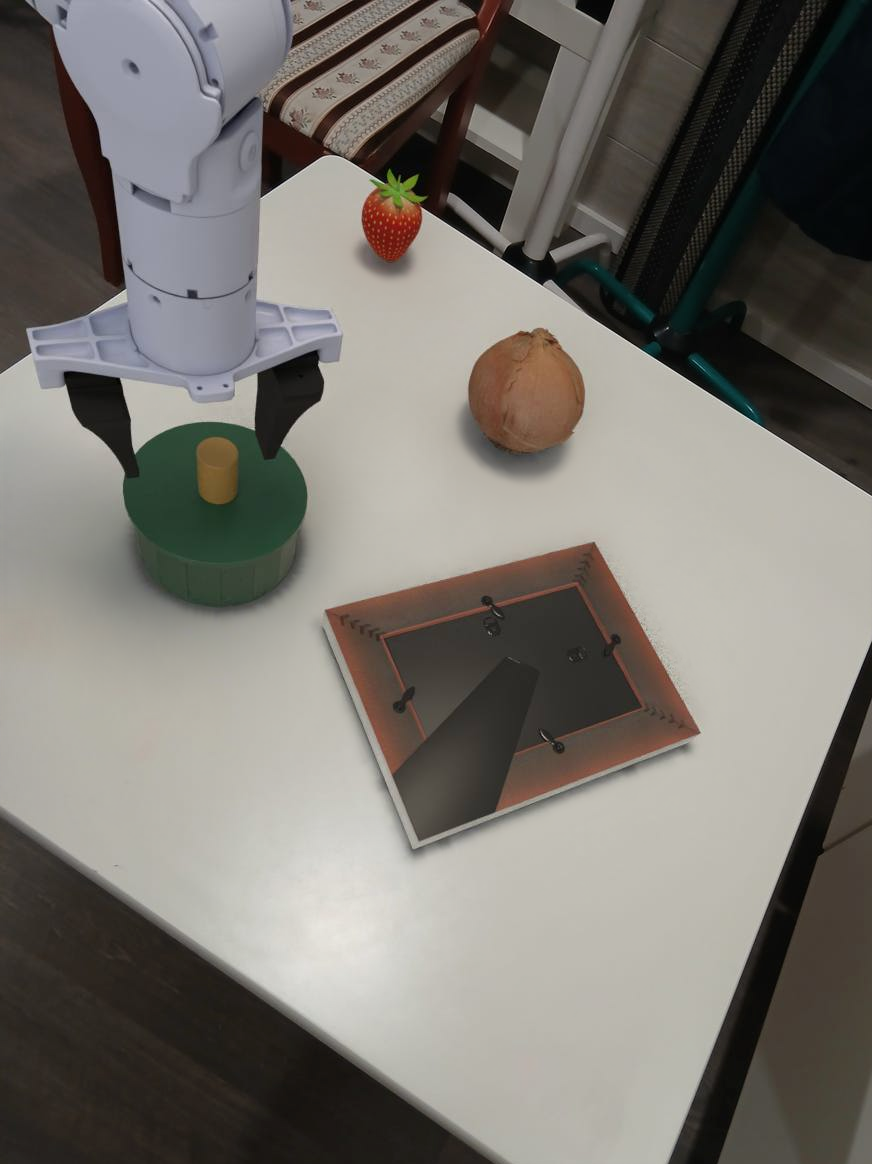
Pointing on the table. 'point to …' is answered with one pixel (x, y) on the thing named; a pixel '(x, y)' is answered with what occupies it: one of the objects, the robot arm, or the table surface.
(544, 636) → the picture frame
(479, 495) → the table surface
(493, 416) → the onion
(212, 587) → the tea tin
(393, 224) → the fruit
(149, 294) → the robot arm
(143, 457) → the tin lid
